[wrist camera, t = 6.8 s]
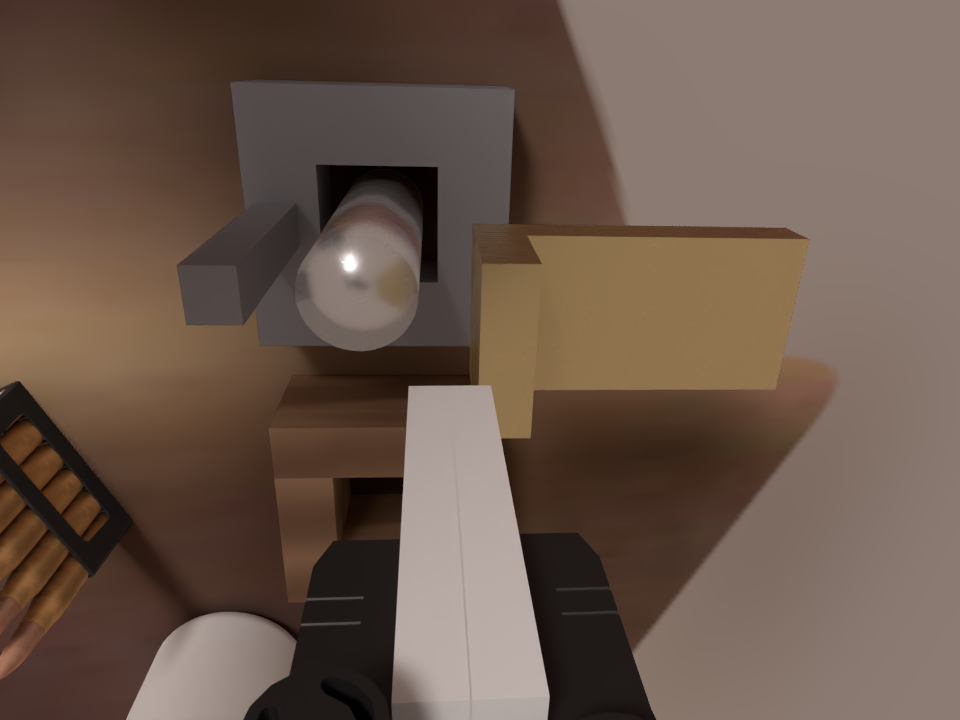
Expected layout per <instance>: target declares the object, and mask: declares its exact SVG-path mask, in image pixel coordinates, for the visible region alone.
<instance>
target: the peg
mask: <svg viewBox="0 0 960 720" xmlns="http://www.w3.org/2000/svg"><path fill="white" fill-rule="evenodd" d="M423 214H424V205H423V199H422V196H421V194H420V192H419V190H418V188H417V187H416V185H415V184H414V183H413V182H412V181H411V180H410V179H409V178H408V177H407V176H405V175H404V174H402V173H400V172H398V171H395V170H391V169H375V170H371V171H368V172H366V173H364V174H363V175H361V176H360V177H359V178H358V179H356V181H355V182H354V183H353V184H352V186H351V187H350V189H349V190H348V192H347V193H346V195H345V197H344V198H343V200H342V201H341V203H340V204H339V206H338V207H337V209H336V211H335V212H334V214H333V215H332V217H331V218H330V220H329V221H328V223H327V225H326V226H325V228H324V229H323V231H322V232H321V234H320V235H319V237H318V239H317V240H316V242H315V243H314V245H313V246H312V248H311V249H310V251H309V253H308V254H307V256H306V257H305V259H304V260H303V262H302V264H301V265H300V268H299V270H298V273H297V276H296V281H295V299H296V304H297V307H298V310H299V312H300V315H301V317H302V318H303V320H304V322H305V323H306V325H307V326H308V327H309V328H310V329H311V330H312V331H313V332H314V333H315V334H316V335H317V336H318V337H319V338H321V339H322V340H324V341H325V342H327V343H329V344H331V345H333V346H335V347H338V348H341V349H345V350H351V351H369V350H375V349H378V348H381V347H384V346H386V345H388V344H390V343H392V342H393V341H395V340H396V339H398V338H399V337H400V336H401V335H402V334H403V333H404V332H405V331H406V330H407V328H408V327H409V326H410V324H411V322H412V320H413V318H414V316H415V313H416V311H417V306H418V296H419V280H420V263H421V247H422V231H423Z"/></svg>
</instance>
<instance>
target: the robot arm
mask: <svg viewBox="0 0 960 720" xmlns="http://www.w3.org/2000/svg"><path fill="white" fill-rule="evenodd" d="M243 720H656V718H655V716H654V714H653V712H652V710H651V707H650V704H649V702H648V699H647V696H646V693H645V690H644V687H643V684H642V681H641V678H640V675H639V672H638V669H637V666H636V663H635V660H634V657H633V654H632V651H631V648H630V645H629V642H628V640H627V637H626V634H625V631H624V628H623V625H622V622H621V619H620V616H619V615H618V614H617V607H616V604H615V601H614V598H613V595H612V592H611V591H609V584H608V581H607V578H606V575H605V572H604V569H603V566H602V563H601V560H600V557H599V556H598V555H597V553H596V552H595V551H594V550H593V549H592V548H591V547H590V546H589V545H588V544H587V543H586V542H585V541H584V539H583V538H582V537H581V536H580V535H579V534H578V533H545V534H519V531H518V526H517V521H516V516H515V510H514V505H513V500H512V494H511V489H510V484H509V479H508V473H507V468H506V463H505V458H504V452H503V447H502V442H501V436H500V431H499V426H498V421H497V415H496V410H495V405H494V399H493V394H492V389H491V385H479V386H409V390H408V408H407V427H406V445H405V463H404V482H403V500H402V518H401V537H400V539H388V540H346V541H333V542H332V543H331V545H330V546H329V547H328V548H327V550H326V551H325V552H324V553H323V555H322V556H321V557H320V558H319V560H318V561H317V562H316V563H315V565H314V566H313V570H312V574H311V579H310V583H309V588H308V592H307V601H306V602H305V606H304V610H303V615H302V620H301V628H300V629H299V633H298V638H297V642H296V647H295V651H294V656H293V660H292V665H291V670H290V674H289V676H287V677H285V678H284V679H282V680H280V681H278V682H276V683H274V684H272V685H271V686H270V687H269V688H268V689H267V690H266V691H265V692H264V693H263V694H262V695H261V696H260V697H259V698H258V699H257V700H256V701H255V702H254V703H253V704H252V705H251V706H250V707H249V709H248V711H247V713H246V715H245V717H244V719H243Z"/></svg>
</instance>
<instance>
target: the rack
mask: <svg viewBox="0 0 960 720" xmlns="http://www.w3.org/2000/svg"><path fill="white" fill-rule="evenodd" d="M409 386H471V382H470V375H368V376H292V377H291V379H290V381H289V383H288V386H287V388H286V390H285V392H284V395H283V397H282V399H281V401H280V404H279V406H278V408H277V410H276V413H275V415H274V417H273V419H272V421H271V424H270V426H269V428H268V429H269V438H270V446H271V455H272V464H273V473H274V482H275V491H276V499H277V508H278V517H279V526H280V535H281V544H282V553H283V561H284V570H285V579H286V588H287V597H288V603H291V602H306V601H307V592H308V588H309V583H310V579H311V574H312V570H313V566H314V565H315V563H316V562H317V561H318V560H319V558H320V557H321V556H322V555H323V553H324V552H325V551H326V550H327V548H328V547H329V546H330V545H331V543H332V542H333V541H346V540H388V539H400V537H401V518H402V500H403V493H399V494H351V489H350V478H371V477H404V463H405V445H406V427H407V408H408V390H409Z"/></svg>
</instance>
